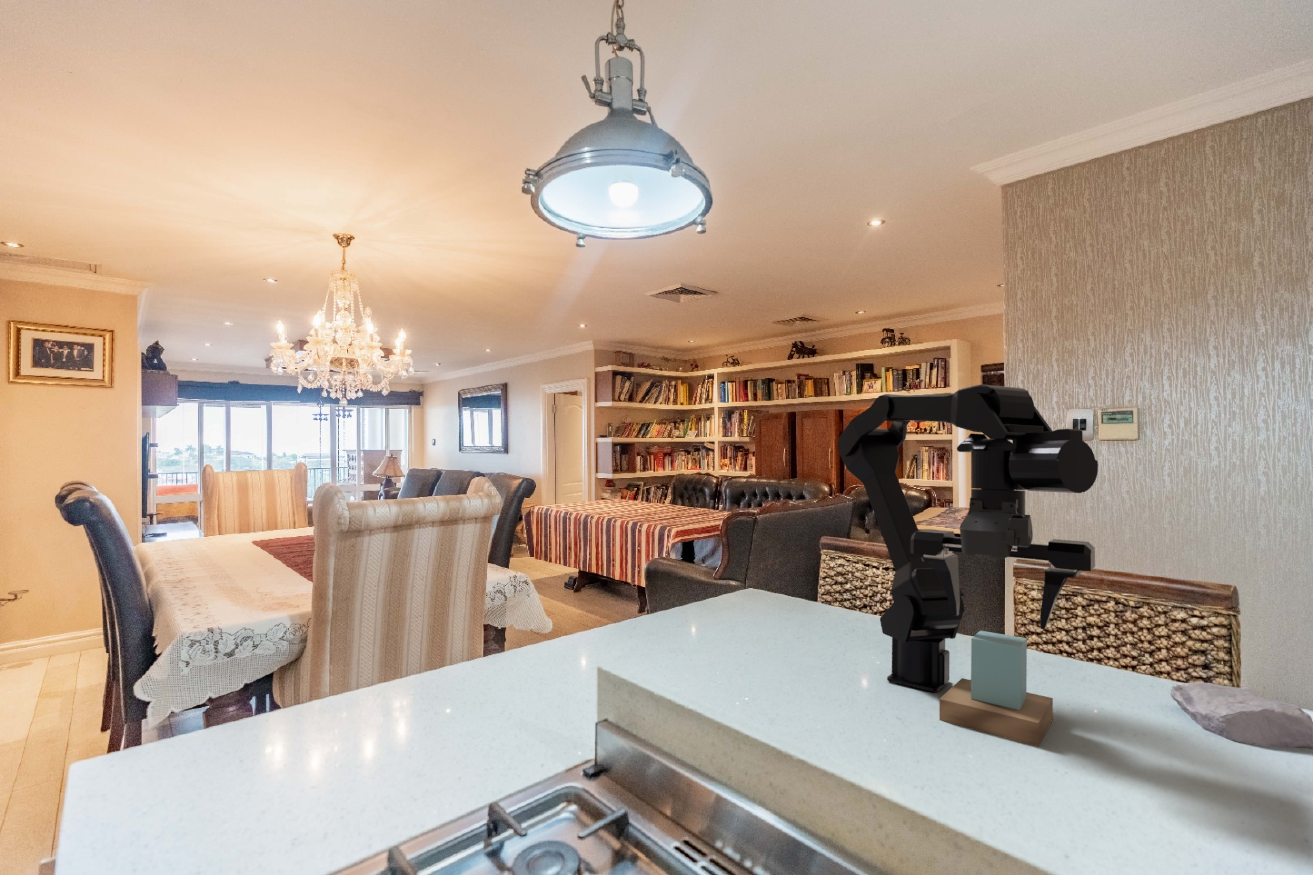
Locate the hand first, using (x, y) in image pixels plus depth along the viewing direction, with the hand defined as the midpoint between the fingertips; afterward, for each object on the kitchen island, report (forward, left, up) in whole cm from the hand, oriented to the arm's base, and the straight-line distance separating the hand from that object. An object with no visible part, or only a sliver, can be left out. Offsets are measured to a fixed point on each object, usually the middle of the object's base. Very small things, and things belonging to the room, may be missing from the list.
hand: (997, 621), depth 74 cm
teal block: (0, 0, -9) cm, 9 cm away
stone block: (+21, +19, -12) cm, 31 cm away
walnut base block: (0, 0, -12) cm, 12 cm away
